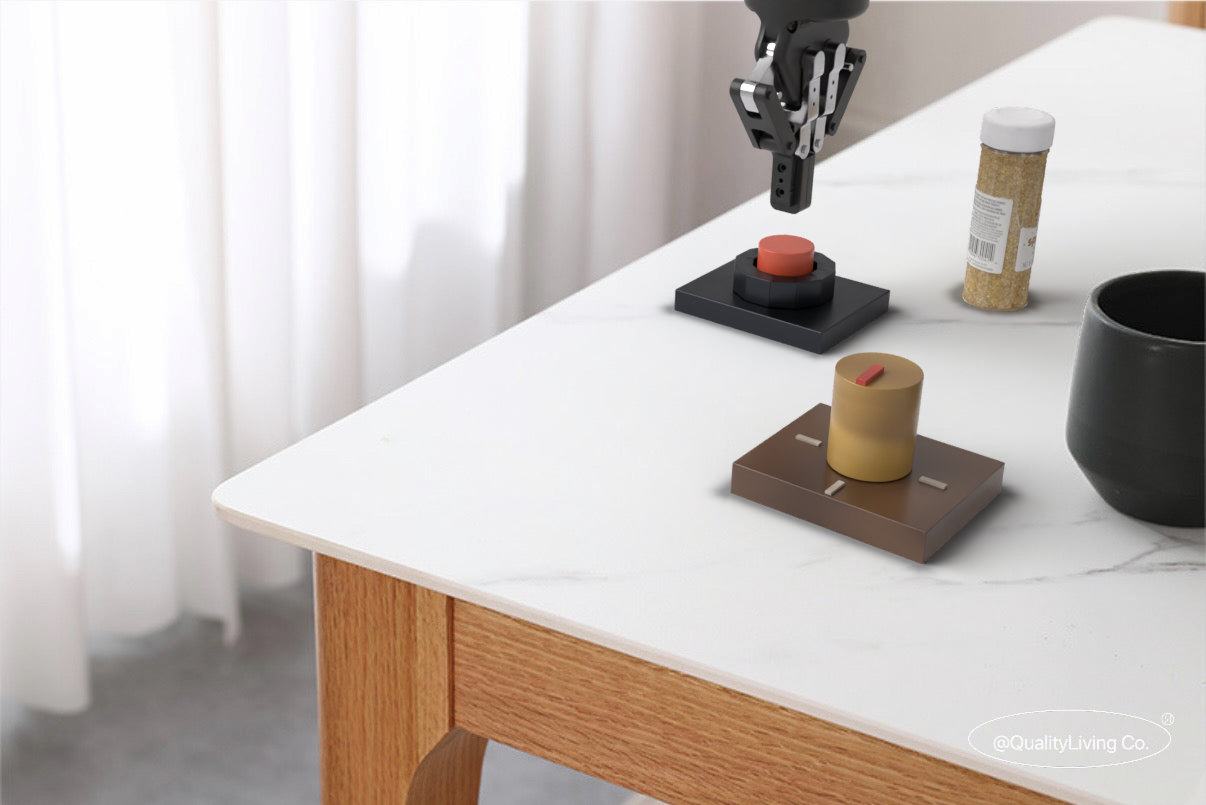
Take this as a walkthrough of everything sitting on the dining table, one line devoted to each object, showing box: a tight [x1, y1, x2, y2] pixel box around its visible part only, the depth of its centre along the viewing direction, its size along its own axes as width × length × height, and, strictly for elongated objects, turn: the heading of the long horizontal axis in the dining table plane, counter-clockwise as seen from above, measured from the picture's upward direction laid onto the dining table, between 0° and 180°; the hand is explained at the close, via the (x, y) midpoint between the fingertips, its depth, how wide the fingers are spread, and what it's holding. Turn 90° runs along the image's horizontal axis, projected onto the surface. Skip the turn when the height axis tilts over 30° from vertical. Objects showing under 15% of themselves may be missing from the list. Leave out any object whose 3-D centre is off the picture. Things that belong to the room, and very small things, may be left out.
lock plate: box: [730, 402, 1006, 565], centre depth 81 cm, size 11×9×3 cm
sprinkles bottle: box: [961, 105, 1056, 312], centre depth 103 cm, size 5×5×13 cm
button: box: [757, 234, 816, 276], centre depth 101 cm, size 4×4×2 cm
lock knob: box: [827, 351, 925, 482], centre depth 79 cm, size 4×4×6 cm
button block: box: [674, 247, 891, 355], centre depth 102 cm, size 11×9×4 cm
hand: (789, 208), depth 100 cm, fingers closed
